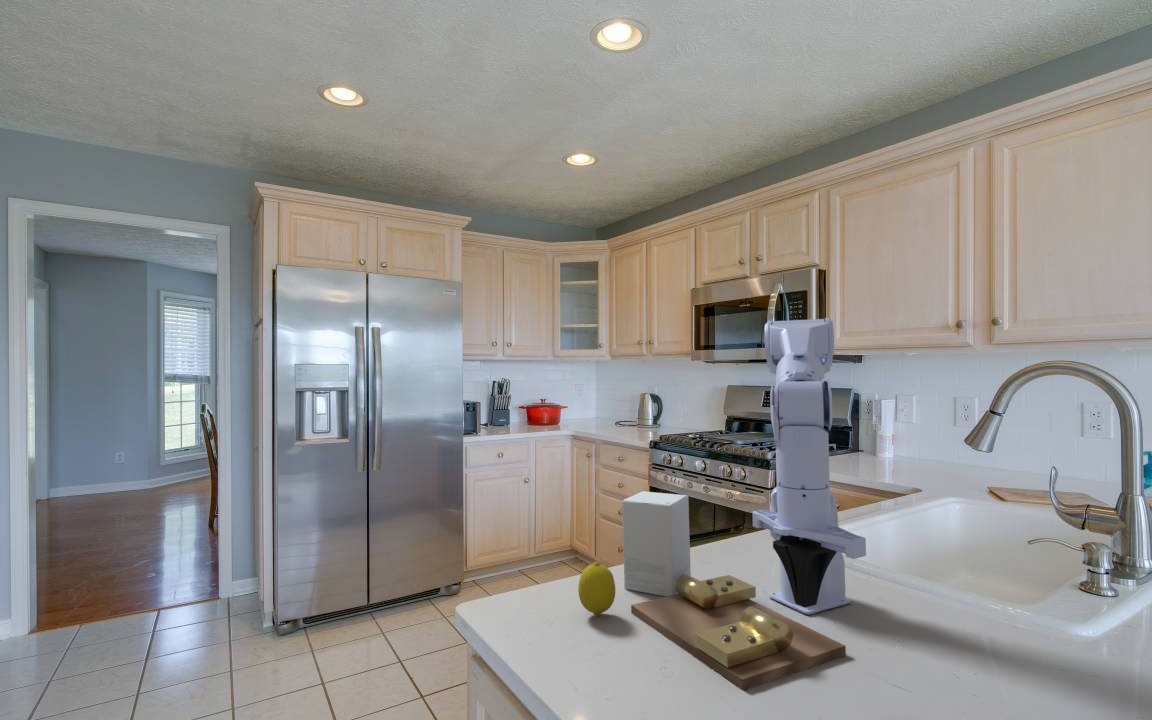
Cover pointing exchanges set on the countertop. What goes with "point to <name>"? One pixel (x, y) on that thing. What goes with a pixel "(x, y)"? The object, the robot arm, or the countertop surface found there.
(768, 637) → the plate
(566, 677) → the countertop surface
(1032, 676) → the countertop surface
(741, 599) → the fixed leaf
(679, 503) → the supplement box
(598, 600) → the lemon
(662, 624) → the walnut board
